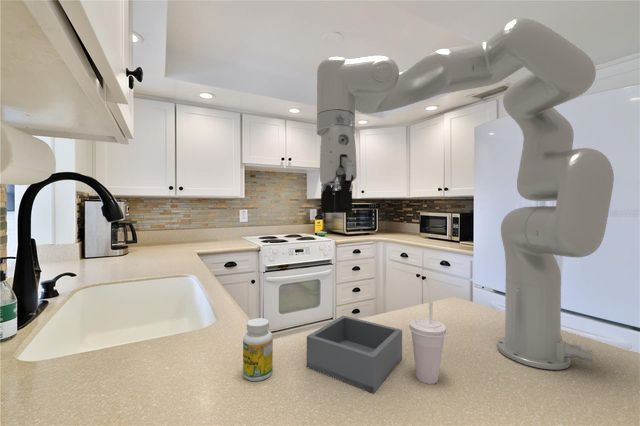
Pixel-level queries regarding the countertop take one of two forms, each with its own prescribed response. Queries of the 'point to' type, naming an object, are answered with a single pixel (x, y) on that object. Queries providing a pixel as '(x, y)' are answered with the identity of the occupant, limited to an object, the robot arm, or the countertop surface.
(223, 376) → the countertop surface
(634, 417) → the countertop surface
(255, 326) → the supplement bottle
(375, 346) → the box
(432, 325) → the smoothie
